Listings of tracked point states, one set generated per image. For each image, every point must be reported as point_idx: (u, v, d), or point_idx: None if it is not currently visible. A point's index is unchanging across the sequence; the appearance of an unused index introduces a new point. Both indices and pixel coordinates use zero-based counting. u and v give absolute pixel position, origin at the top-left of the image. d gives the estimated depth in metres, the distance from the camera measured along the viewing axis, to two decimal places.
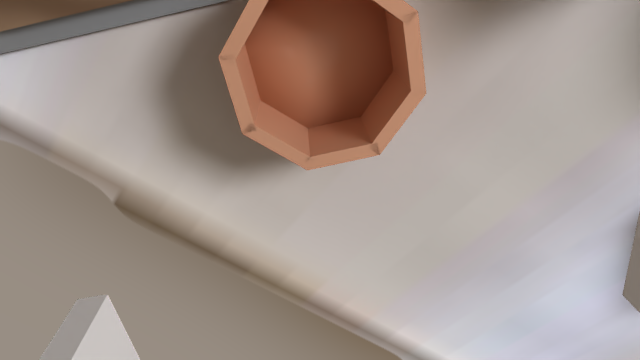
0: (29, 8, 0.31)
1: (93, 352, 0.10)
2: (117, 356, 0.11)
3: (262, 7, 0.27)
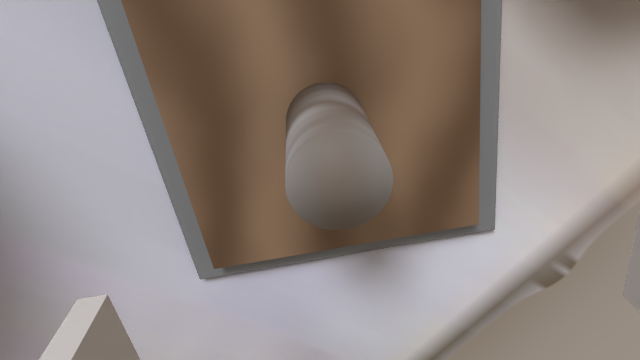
0: (461, 176, 0.24)
1: (93, 352, 0.10)
2: (117, 356, 0.11)
3: None
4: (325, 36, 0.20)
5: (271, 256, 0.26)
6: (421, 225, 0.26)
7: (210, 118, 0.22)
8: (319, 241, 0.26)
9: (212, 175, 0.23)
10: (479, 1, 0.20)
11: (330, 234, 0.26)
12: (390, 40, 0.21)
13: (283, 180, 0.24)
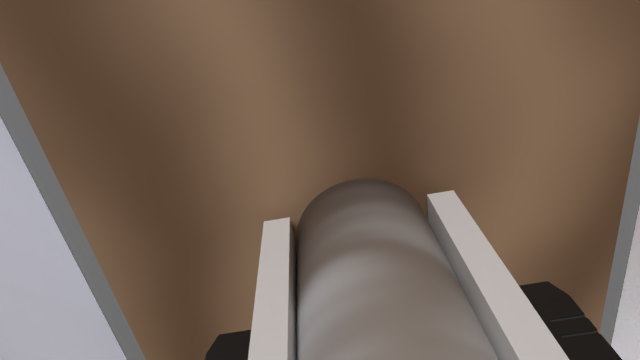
0: None
1: (292, 259, 0.11)
2: None
3: None
4: (368, 104, 0.11)
5: None
6: None
7: (168, 235, 0.13)
8: None
9: (175, 315, 0.14)
10: None
11: None
12: (482, 110, 0.12)
13: None
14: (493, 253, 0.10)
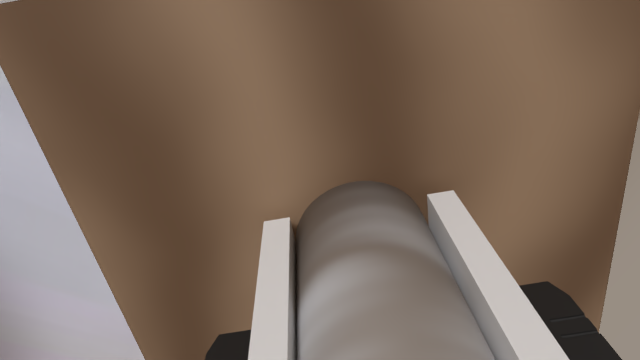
0: None
1: (292, 259, 0.11)
2: None
3: None
4: (367, 107, 0.11)
5: None
6: None
7: (168, 237, 0.13)
8: None
9: (175, 317, 0.14)
10: None
11: None
12: (481, 113, 0.12)
13: None
14: (493, 253, 0.10)
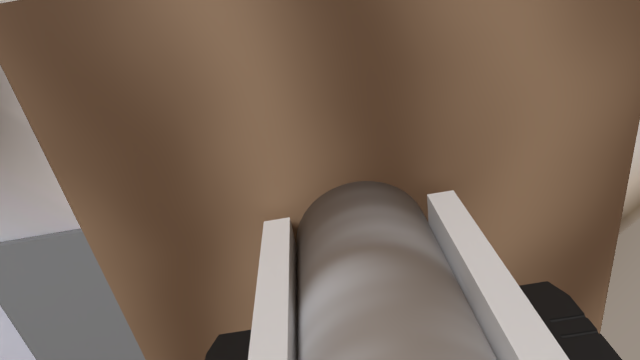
0: None
1: (293, 259, 0.11)
2: None
3: None
4: (368, 107, 0.11)
5: None
6: None
7: (168, 237, 0.13)
8: None
9: (176, 317, 0.14)
10: None
11: None
12: (482, 113, 0.12)
13: None
14: (493, 253, 0.10)
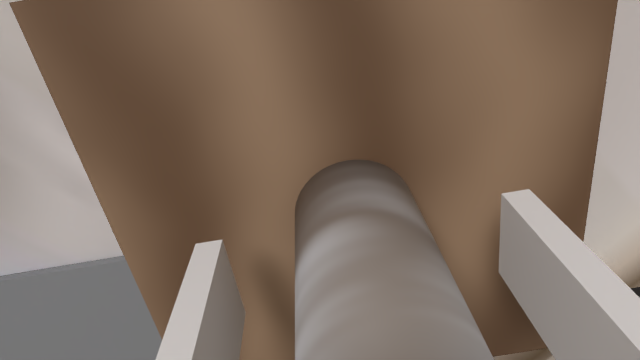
0: None
1: (220, 285, 0.11)
2: (231, 294, 0.12)
3: None
4: (358, 92, 0.13)
5: None
6: None
7: (179, 211, 0.14)
8: None
9: None
10: (609, 37, 0.12)
11: None
12: (461, 97, 0.13)
13: (290, 293, 0.16)
14: (592, 255, 0.09)
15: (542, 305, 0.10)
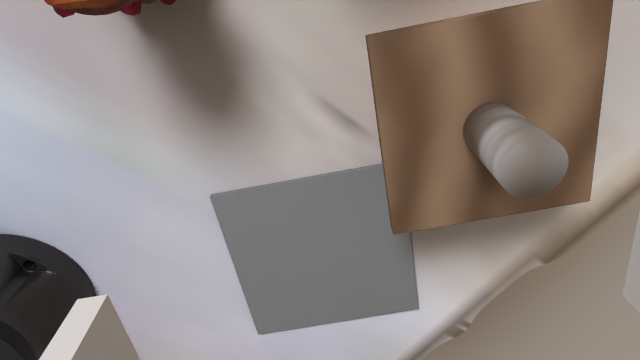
0: (581, 165, 0.34)
1: (94, 352, 0.10)
2: (117, 356, 0.11)
3: None
4: (498, 71, 0.30)
5: (436, 225, 0.36)
6: (547, 202, 0.35)
7: (411, 127, 0.32)
8: (471, 214, 0.36)
9: (405, 166, 0.33)
10: (606, 45, 0.30)
11: (480, 208, 0.35)
12: (542, 72, 0.30)
13: (454, 169, 0.34)
14: None
15: None
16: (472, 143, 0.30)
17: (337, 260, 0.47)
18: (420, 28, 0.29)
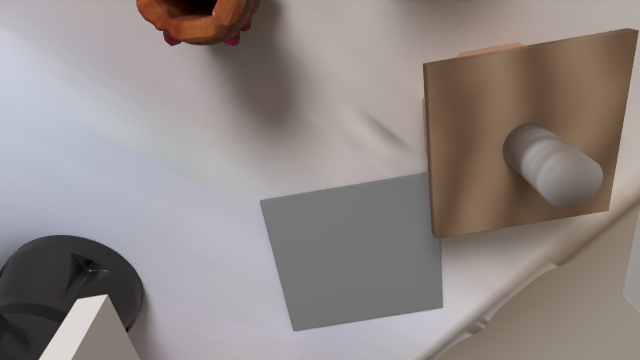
0: (602, 179, 0.39)
1: (93, 352, 0.10)
2: (117, 356, 0.11)
3: None
4: (537, 97, 0.35)
5: (473, 230, 0.40)
6: (571, 211, 0.40)
7: (458, 144, 0.36)
8: (505, 221, 0.40)
9: (450, 178, 0.38)
10: (629, 77, 0.34)
11: (513, 216, 0.40)
12: (574, 99, 0.35)
13: (492, 181, 0.38)
14: None
15: None
16: (513, 159, 0.35)
17: (371, 262, 0.51)
18: (472, 59, 0.33)
